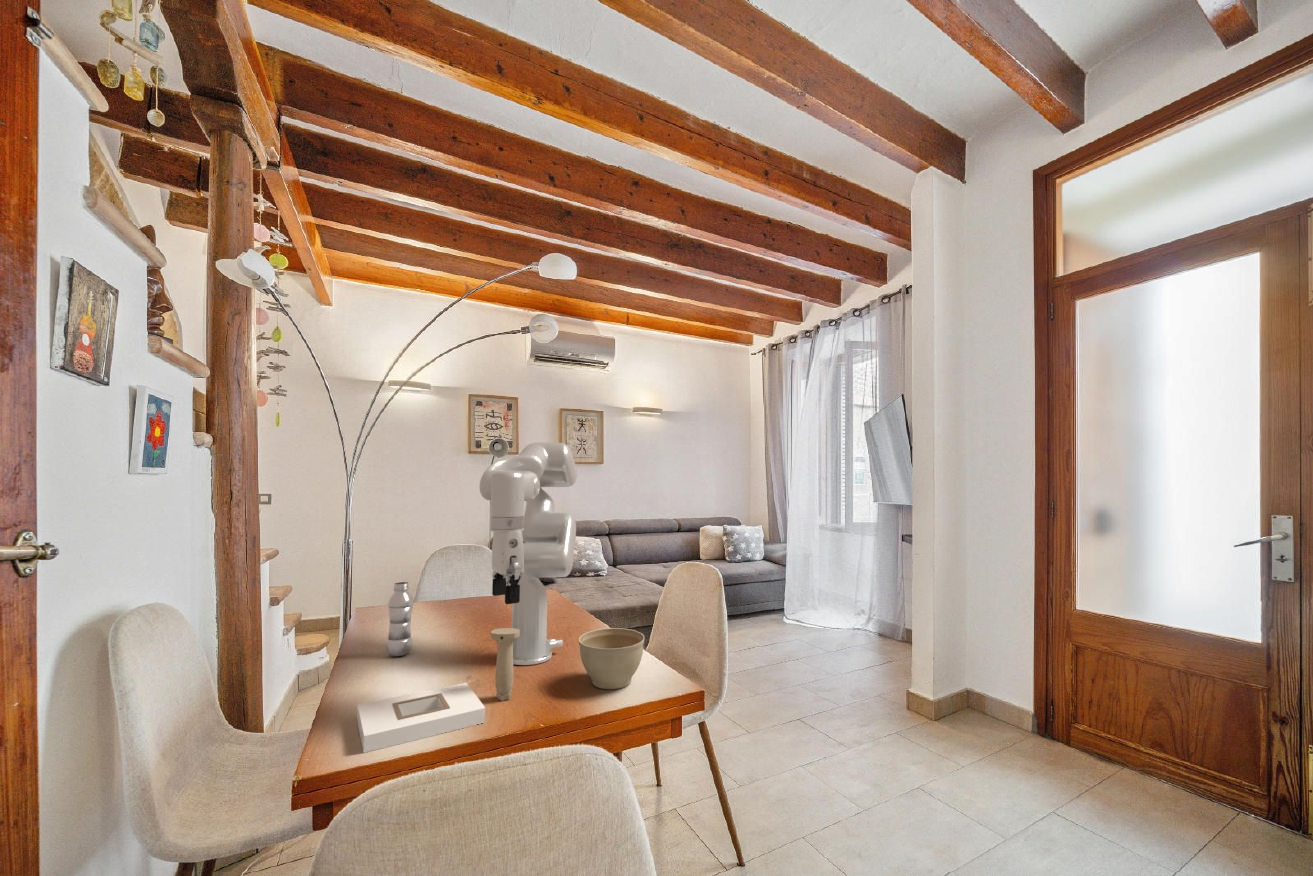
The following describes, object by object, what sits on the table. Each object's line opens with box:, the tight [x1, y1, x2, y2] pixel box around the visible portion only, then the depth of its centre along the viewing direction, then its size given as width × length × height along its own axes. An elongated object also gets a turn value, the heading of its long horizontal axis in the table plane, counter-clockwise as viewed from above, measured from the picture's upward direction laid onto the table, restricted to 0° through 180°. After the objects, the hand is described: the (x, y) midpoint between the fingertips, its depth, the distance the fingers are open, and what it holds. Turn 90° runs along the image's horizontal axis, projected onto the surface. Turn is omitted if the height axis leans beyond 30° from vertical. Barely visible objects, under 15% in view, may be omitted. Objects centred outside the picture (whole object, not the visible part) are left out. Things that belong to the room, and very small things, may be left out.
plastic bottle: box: [385, 581, 415, 657], centre depth 152 cm, size 6×7×20 cm
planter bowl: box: [578, 627, 645, 690], centre depth 132 cm, size 16×16×11 cm
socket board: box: [356, 682, 486, 754], centre depth 111 cm, size 22×16×3 cm
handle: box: [490, 627, 520, 701], centre depth 123 cm, size 5×6×15 cm
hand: (505, 599), depth 124 cm, fingers open, 9 cm apart
